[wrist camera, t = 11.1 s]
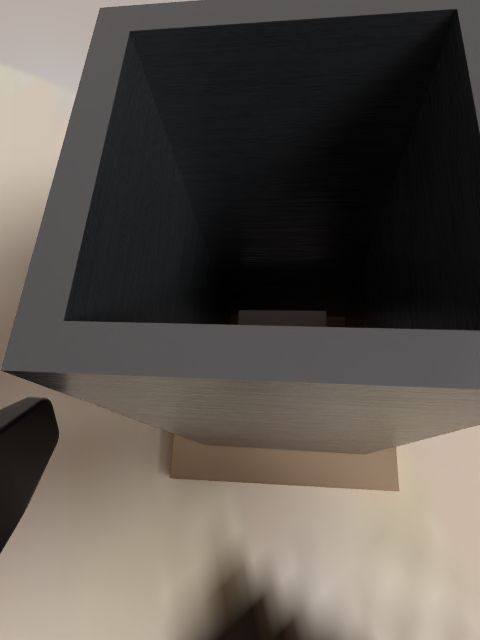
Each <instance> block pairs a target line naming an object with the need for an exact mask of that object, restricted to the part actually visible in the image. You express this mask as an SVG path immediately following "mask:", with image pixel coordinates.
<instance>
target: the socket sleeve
mask: <svg viewBox="0 0 480 640" xmlns="http://www.w3.org/2000/svg"><path fill="white" fill-rule="evenodd" d="M239 310H272V311H326V316H335V317H345V327H303V326H260V325H229V321H230V314H236V315H239ZM1 371H4V372H7V373H9V374H12V375H15V376H18V377H20V378H23V379H26V380H29V381H31V382H34V383H37V384H40V385H42V386H45V387H48V388H50V389H53V390H56V391H59V392H61V393H64V394H67V395H70V396H72V397H75V398H78V399H80V400H83V401H86V402H89V403H91V404H94V405H97V406H100V407H102V408H105V409H108V410H111V411H113V412H116V413H119V414H121V415H124V416H127V417H130V418H132V419H135V420H138V421H141V422H143V423H146V424H149V425H151V426H154V427H157V428H160V429H162V430H165V431H168V432H171V433H173V434H176V435H179V436H182V437H184V438H187V439H190V440H192V441H195V442H198V443H201V444H203V445H214V446H231V447H248V448H264V449H281V450H297V451H314V452H330V453H347V454H364V455H366V454H370V453H373V452H377V451H381V450H385V449H389V448H393V447H396V446H400V445H404V444H408V443H412V442H416V441H419V440H423V439H427V438H431V437H435V436H439V435H442V434H446V433H450V432H454V431H458V430H462V429H465V428H469V427H473V426H477V425H480V0H199V1H186V2H172V3H159V4H146V5H133V6H119V7H107V8H100V10H99V14H98V17H97V21H96V25H95V29H94V32H93V36H92V39H91V43H90V47H89V50H88V54H87V58H86V61H85V65H84V69H83V72H82V76H81V80H80V83H79V87H78V91H77V94H76V98H75V102H74V105H73V109H72V113H71V116H70V120H69V124H68V127H67V131H66V135H65V138H64V142H63V146H62V149H61V153H60V156H59V160H58V164H57V167H56V171H55V175H54V178H53V182H52V186H51V189H50V193H49V197H48V200H47V204H46V208H45V211H44V215H43V219H42V222H41V226H40V230H39V233H38V237H37V241H36V244H35V248H34V252H33V255H32V259H31V263H30V266H29V270H28V274H27V277H26V281H25V285H24V288H23V292H22V296H21V299H20V303H19V307H18V310H17V314H16V318H15V321H14V325H13V329H12V332H11V336H10V340H9V343H8V347H7V351H6V354H5V358H4V361H3V365H2V369H1Z"/></svg>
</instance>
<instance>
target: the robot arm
mask: <svg viewBox="0 0 480 640" xmlns="http://www.w3.org/2000/svg"><path fill="white" fill-rule="evenodd" d="M58 438H59V429H58V425H57V421H56V417H55V414H54V410H53V406H52V403H51V401H50V400H49V399H47V398H36V397H29V398H25V399H23V400H21V401H19V402H16V403H14V404H12V405H10V406H8V407H5V408H3V409H1V410H0V553H1V552H2V550H3V548H4V546H5V545H6V543H7V541H8V540H9V538H10V536H11V535H12V533H13V531H14V530H15V528H16V526H17V524H18V523H19V521H20V519H21V517H22V515H23V514H24V512H25V510H26V508H27V506H28V504H29V502H30V500H31V498H32V496H33V494H34V491H35V489H36V487H37V485H38V483H39V481H40V479H41V476H42V474H43V472H44V470H45V468H46V466H47V464H48V461H49V459H50V457H51V455H52V453H53V451H54V449H55V447H56V444H57V442H58Z"/></svg>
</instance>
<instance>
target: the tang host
mask: <svg viewBox="0 0 480 640" xmlns="http://www.w3.org/2000/svg"><path fill="white" fill-rule="evenodd" d="M229 325H260V326H303V327H345V317H335V316H326V311H272V310H239V315H236V314H230V321H229ZM170 478H175V479H193V480H210V481H228V482H245V483H262V484H280V485H297V486H315V487H332V488H350V489H367V490H384V491H399V483H398V469H397V456H396V447H393V448H389V449H385V450H381V451H377V452H373V453H370V454H366V455H364V454H347V453H330V452H314V451H297V450H281V449H264V448H248V447H231V446H214V445H203V444H201V443H198V442H195V441H192V440H190V439H187V438H184V437H182V436H179V435H176V434H174V439H173V449H172V459H171V469H170Z"/></svg>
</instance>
